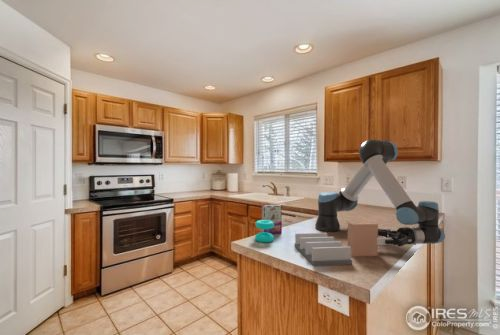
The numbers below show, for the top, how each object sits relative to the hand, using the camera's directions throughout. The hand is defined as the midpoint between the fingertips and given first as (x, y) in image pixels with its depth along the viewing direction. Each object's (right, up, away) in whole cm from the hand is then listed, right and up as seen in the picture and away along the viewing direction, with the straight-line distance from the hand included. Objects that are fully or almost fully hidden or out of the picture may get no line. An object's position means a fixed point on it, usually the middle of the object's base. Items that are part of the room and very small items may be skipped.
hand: (367, 236), depth 106 cm
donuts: (-45, -8, +20) cm, 50 cm away
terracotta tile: (-2, -8, 0) cm, 8 cm away
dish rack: (-21, -8, 0) cm, 22 cm away
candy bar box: (-40, -8, +35) cm, 53 cm away
